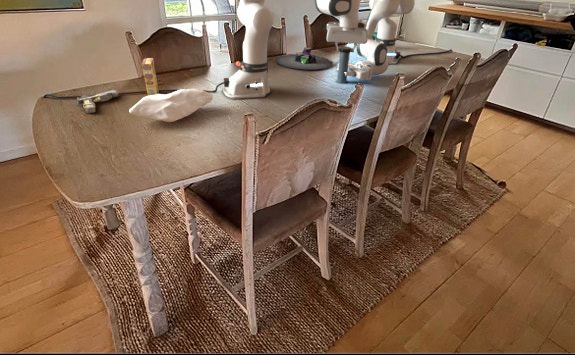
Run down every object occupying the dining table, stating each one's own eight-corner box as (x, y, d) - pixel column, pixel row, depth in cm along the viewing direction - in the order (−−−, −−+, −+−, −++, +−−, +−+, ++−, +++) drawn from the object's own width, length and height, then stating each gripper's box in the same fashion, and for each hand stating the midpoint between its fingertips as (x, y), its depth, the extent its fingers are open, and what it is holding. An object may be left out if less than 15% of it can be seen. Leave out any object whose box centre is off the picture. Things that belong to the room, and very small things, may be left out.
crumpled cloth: (117, 110, 146) (113, 90, 140) (195, 92, 166) (194, 73, 160) (143, 139, 134) (140, 118, 128) (223, 116, 154) (224, 96, 148)
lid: (338, 51, 183) (338, 48, 182) (341, 49, 188) (341, 45, 187) (349, 53, 181) (349, 49, 181) (352, 50, 186) (352, 47, 185)
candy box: (157, 97, 164) (152, 63, 155) (147, 98, 163) (141, 63, 155) (158, 91, 171) (153, 57, 163) (149, 91, 170) (143, 58, 162)
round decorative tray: (344, 65, 218) (345, 49, 214) (297, 72, 201) (297, 55, 197) (309, 55, 243) (309, 41, 239) (264, 61, 226) (264, 46, 221)
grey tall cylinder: (335, 80, 195) (339, 48, 186) (344, 80, 196) (348, 47, 187) (338, 83, 191) (342, 50, 182) (347, 83, 192) (351, 50, 183)
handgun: (128, 97, 156) (111, 87, 164) (86, 107, 144) (70, 97, 152) (129, 103, 157) (113, 94, 165) (88, 114, 146) (72, 103, 154)
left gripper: (327, 22, 175) (324, 51, 183) (369, 24, 174) (365, 54, 181) (327, 20, 181) (324, 49, 188) (368, 22, 179) (364, 51, 187)
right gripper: (350, 58, 202) (330, 61, 196) (375, 68, 187) (354, 71, 181) (349, 70, 205) (329, 72, 199) (373, 80, 190) (352, 83, 184)
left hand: (345, 51), depth 185 cm, fingers closed on lid, 6 cm apart
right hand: (341, 72), depth 190 cm, fingers closed on grey tall cylinder, 5 cm apart
